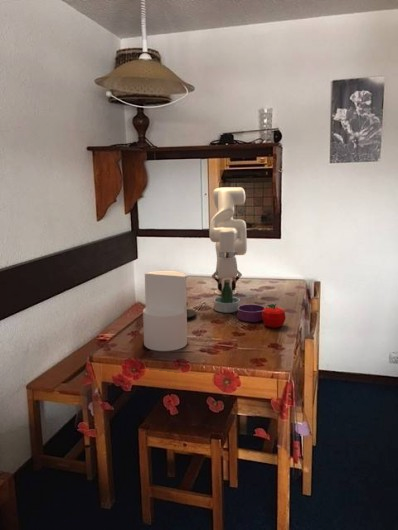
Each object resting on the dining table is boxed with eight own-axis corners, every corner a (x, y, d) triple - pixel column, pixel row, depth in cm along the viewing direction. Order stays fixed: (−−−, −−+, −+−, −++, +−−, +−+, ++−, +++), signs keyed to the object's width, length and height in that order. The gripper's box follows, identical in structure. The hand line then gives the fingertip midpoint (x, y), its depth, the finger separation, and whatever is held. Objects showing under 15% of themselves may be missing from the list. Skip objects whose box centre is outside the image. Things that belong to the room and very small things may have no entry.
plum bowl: (248, 312, 223) (248, 302, 222) (270, 317, 215) (271, 307, 214) (231, 318, 214) (232, 308, 213) (254, 324, 205) (254, 313, 204)
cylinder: (156, 333, 194) (154, 269, 189) (193, 338, 188) (193, 272, 183) (136, 347, 179) (133, 277, 173) (175, 353, 172) (174, 281, 167)
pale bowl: (224, 304, 238) (224, 295, 237) (244, 309, 230) (245, 299, 229) (208, 309, 229) (208, 300, 228) (228, 314, 220) (228, 304, 219)
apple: (280, 321, 210) (280, 300, 208) (289, 328, 200) (290, 306, 198) (258, 322, 208) (258, 301, 206) (266, 330, 197) (266, 307, 195)
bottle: (225, 304, 234) (225, 278, 231) (235, 307, 230) (235, 280, 227) (218, 307, 229) (218, 280, 226) (227, 309, 225) (227, 282, 222)
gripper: (241, 252, 229) (240, 287, 233) (208, 254, 226) (208, 289, 229) (246, 255, 222) (245, 291, 226) (211, 257, 219) (211, 293, 222)
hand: (226, 289), depth 228 cm, fingers closed on bottle, 6 cm apart
